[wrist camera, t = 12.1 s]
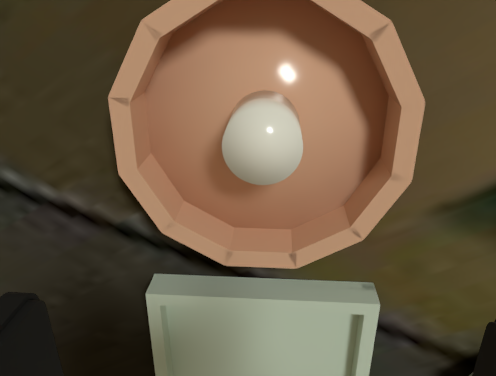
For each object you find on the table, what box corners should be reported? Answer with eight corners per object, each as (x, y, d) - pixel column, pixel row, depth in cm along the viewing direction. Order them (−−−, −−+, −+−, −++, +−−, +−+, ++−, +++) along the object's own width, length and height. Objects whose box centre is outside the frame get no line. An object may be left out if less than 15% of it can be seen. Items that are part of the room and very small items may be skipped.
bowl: (422, -28, 24) (448, -32, 20) (382, 240, 31) (395, 272, 27) (118, -27, 25) (90, -31, 21) (147, 231, 32) (130, 262, 28)
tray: (373, 282, 33) (380, 304, 30) (351, 432, 40) (355, 459, 37) (154, 273, 34) (145, 293, 31) (170, 421, 41) (164, 446, 38)
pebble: (301, 90, 26) (305, 108, 22) (297, 158, 28) (300, 186, 24) (229, 89, 26) (220, 107, 22) (230, 156, 28) (222, 183, 24)
